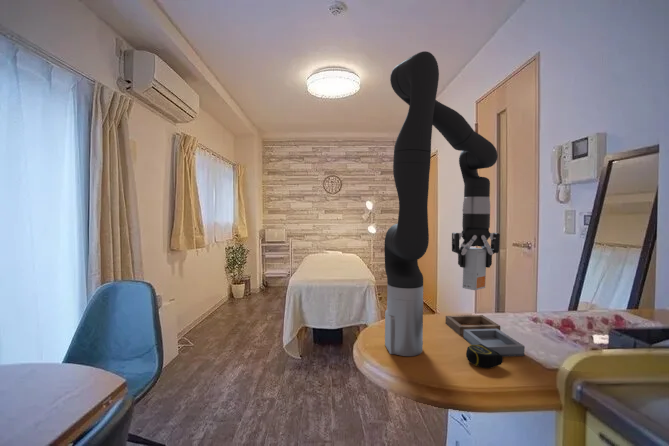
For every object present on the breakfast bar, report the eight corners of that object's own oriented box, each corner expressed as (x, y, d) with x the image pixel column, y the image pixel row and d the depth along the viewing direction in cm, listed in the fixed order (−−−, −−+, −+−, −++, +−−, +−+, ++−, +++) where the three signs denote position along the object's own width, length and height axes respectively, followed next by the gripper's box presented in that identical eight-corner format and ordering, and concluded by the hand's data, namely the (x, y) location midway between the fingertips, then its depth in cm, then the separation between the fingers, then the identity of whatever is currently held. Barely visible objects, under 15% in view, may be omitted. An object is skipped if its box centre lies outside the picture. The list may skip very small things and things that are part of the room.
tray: (486, 357, 80) (486, 347, 80) (463, 338, 92) (463, 329, 92) (524, 355, 81) (524, 346, 81) (497, 337, 93) (497, 328, 93)
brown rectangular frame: (459, 335, 94) (459, 327, 94) (445, 323, 104) (445, 315, 104) (500, 334, 95) (500, 325, 95) (482, 322, 105) (482, 314, 105)
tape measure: (504, 369, 74) (504, 353, 74) (480, 373, 72) (480, 357, 72) (482, 356, 81) (482, 341, 81) (459, 360, 79) (460, 345, 79)
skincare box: (475, 291, 93) (476, 250, 93) (462, 288, 96) (463, 248, 96) (486, 288, 97) (487, 248, 96) (472, 285, 100) (473, 247, 100)
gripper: (458, 212, 92) (457, 269, 92) (506, 212, 93) (505, 269, 93) (447, 212, 99) (446, 265, 100) (492, 212, 100) (490, 265, 101)
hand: (474, 267), depth 96 cm, fingers closed on skincare box, 7 cm apart
